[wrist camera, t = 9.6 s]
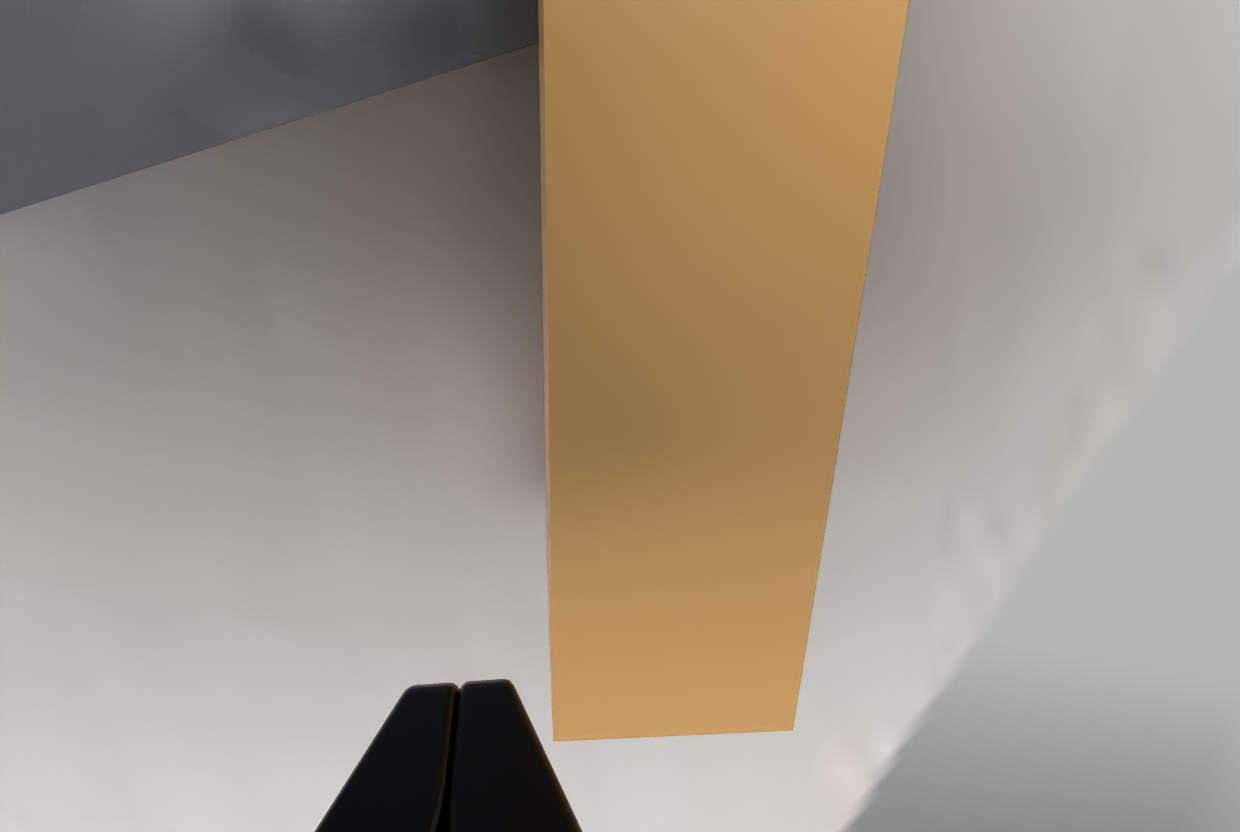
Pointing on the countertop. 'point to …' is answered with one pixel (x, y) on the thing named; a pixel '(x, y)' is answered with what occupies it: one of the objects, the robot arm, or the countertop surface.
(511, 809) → the robot arm
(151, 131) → the label panel
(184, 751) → the countertop surface
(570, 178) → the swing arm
